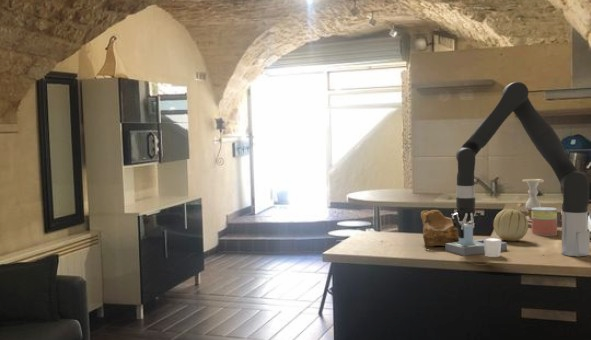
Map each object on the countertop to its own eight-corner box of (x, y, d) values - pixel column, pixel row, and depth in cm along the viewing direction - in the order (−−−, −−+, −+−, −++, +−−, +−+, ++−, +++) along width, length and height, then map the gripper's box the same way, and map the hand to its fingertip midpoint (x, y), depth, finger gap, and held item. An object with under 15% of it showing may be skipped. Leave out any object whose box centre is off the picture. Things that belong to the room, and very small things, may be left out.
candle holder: (517, 225, 310) (516, 179, 308) (532, 223, 314) (532, 178, 313) (533, 228, 300) (533, 180, 298) (549, 226, 304) (549, 179, 303)
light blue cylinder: (472, 247, 246) (472, 224, 245) (465, 248, 245) (464, 225, 244) (466, 246, 250) (466, 223, 249) (458, 247, 248) (458, 224, 248)
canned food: (561, 235, 279) (561, 209, 278) (536, 236, 279) (536, 210, 279) (551, 231, 290) (551, 206, 290) (527, 231, 291) (527, 207, 290)
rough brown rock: (406, 247, 266) (404, 214, 264) (427, 238, 277) (426, 207, 275) (451, 256, 249) (450, 221, 247) (472, 246, 260) (472, 213, 258)
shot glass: (497, 254, 242) (497, 237, 242) (504, 258, 235) (504, 240, 235) (481, 255, 242) (480, 238, 241) (487, 258, 235) (486, 241, 235)
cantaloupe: (490, 242, 266) (490, 209, 265) (496, 237, 279) (496, 205, 278) (526, 245, 259) (526, 210, 258) (530, 239, 272) (530, 206, 271)
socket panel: (506, 251, 248) (506, 242, 248) (463, 256, 239) (463, 247, 239) (486, 246, 259) (486, 237, 259) (445, 251, 250) (445, 242, 250)
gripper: (457, 198, 239) (457, 240, 241) (485, 196, 245) (485, 237, 246) (445, 196, 246) (446, 237, 247) (473, 194, 252) (473, 234, 253)
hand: (465, 237), depth 247 cm, fingers closed on light blue cylinder, 4 cm apart
